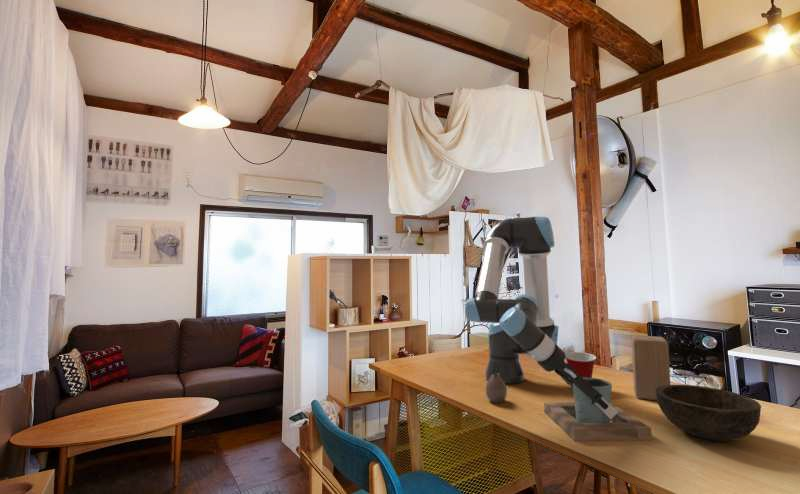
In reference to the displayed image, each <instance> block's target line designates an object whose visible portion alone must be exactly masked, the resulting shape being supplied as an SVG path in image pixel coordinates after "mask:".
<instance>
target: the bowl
mask: <svg viewBox="0 0 800 494" xmlns="http://www.w3.org/2000/svg"><path fill="white" fill-rule="evenodd" d="M656 396H657V401H656V402H657V404H658V406H659V409H660V410H661V412H662V413H663V414H664V416H665V417H666V418H667V420H668V422H671V423H672V424H673V425H674V426H675V427H677V428H678V429H680V430H682V431H684V432H686V433H688V434H689V435H691V436H694V437H698V438H701V439H705V440H710V441H716V442H727V441H733V440H739V439H742V438H745V437H747V436H749V435H750V434H752V432H754V430H756V428H757V426H758V425H759V423H760V418H761V410H762V405H761V404H760V403H759V402H758V401H756V400H755V399H752V398H751V397H748V396H745V395H744V394H739V393H736V392H734V391H733V392H732V391H729V390H725V389H719V388H715V387H710V386H709V387H708V386H702V385H692V384H691V385H690V384H670V385H665V386H660V387H658V388H657V389H656Z"/></svg>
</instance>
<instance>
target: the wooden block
mask: <svg viewBox="0 0 800 494" xmlns="http://www.w3.org/2000/svg"><path fill="white" fill-rule="evenodd" d="M669 353H670V352H669V342H668V341H667V340H666V338H665V337H663V336H655V335H653V336H650V335H637V334H636V335H635V334H634V335H632V336H631V355H632V357H631V359H632V375H633V376H632V377H633V378H632V379H633V390H634V395H635V397H636V398H637V399H638V400H639V399H640V400H646V401H647V400H648V401H656V402H658V401H657V396H656V389H657V388H658V387H660V386H665V385H671V375H670V354H669Z"/></svg>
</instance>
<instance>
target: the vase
mask: <svg viewBox="0 0 800 494" xmlns="http://www.w3.org/2000/svg"><path fill="white" fill-rule="evenodd" d="M506 385H507V384H505V383H504V381H503V380H502V379H501V377H500V375H499V374H492V376H491V378H490V379H489V380H487V382H486V385H485V394H486V397H487V399H488V400H489V401H490V402H492V403H494V404H500V403H503V402H504V401H505V400H506V399H507V392H508V391H507V389H508V388H507V386H506Z"/></svg>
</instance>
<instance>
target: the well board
mask: <svg viewBox="0 0 800 494" xmlns="http://www.w3.org/2000/svg"><path fill="white" fill-rule="evenodd" d="M574 403H575V401H554V402H553V401H549V402H548V401H546V402H545V401H544V402H543V407H544V408H543V409H544V411H543V412H544V414H546V415H547V416H548V417H549V419H550V420H552V422H554V423H555V424H556V425H557V426H558V427H559V428H560V429H561V430H562V431H564V433H565V434H567V435H568V437H570V438H571V440H572V441H574V442H579V441H580V442H583V441H584V442H586V441H589V442H590V441H591V442H592V441H593V442H594V441H596V442H597V441H641V440H642V441H644V440H645V441H647V440H648V441H649V440H650V441H651V440H653V439H652V427H650V426H649V425H648V424H645V423H644V422H642V421H641V420H639V419H638V418H636V417H634V416H633V415H631V414H629V413H628V412H627V411H625V410H623V409H621V408H620V407H618V406H616V405H615V404H613V403H612V402H611V406H612V407H613V408H614V409H615V410H616V411H617V414H616V415H615V416H614V417H613V418H612V419H610V423H580V422H579V421H577V420H576V412H575V404H574Z"/></svg>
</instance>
